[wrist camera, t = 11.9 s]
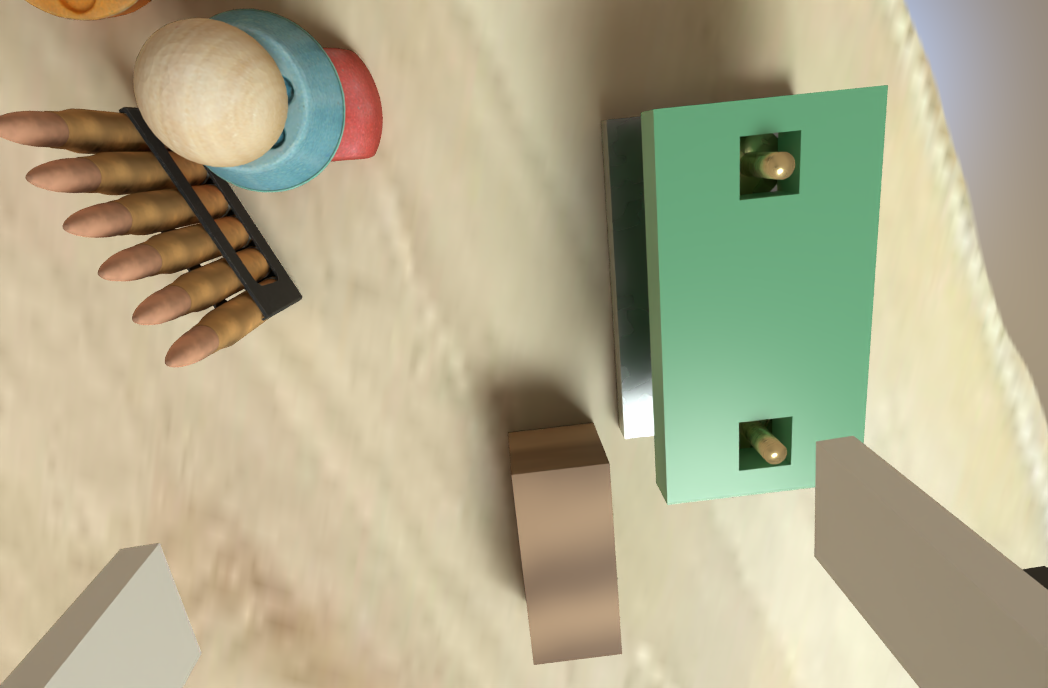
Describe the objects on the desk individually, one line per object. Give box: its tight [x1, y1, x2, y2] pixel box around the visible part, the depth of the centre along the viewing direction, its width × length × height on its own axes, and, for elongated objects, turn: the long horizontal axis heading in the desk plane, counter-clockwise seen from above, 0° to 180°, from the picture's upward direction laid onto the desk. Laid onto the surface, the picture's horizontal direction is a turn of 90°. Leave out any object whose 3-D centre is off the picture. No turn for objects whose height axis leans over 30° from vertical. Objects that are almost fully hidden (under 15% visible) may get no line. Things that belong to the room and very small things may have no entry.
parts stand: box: [508, 423, 622, 665], centre depth 36 cm, size 12×5×5 cm, turn 6°
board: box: [641, 85, 888, 505], centre depth 27 cm, size 17×9×2 cm, turn 6°
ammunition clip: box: [0, 107, 302, 367], centre depth 26 cm, size 11×2×12 cm, turn 28°
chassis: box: [601, 116, 795, 464], centre depth 30 cm, size 17×10×10 cm, turn 6°
